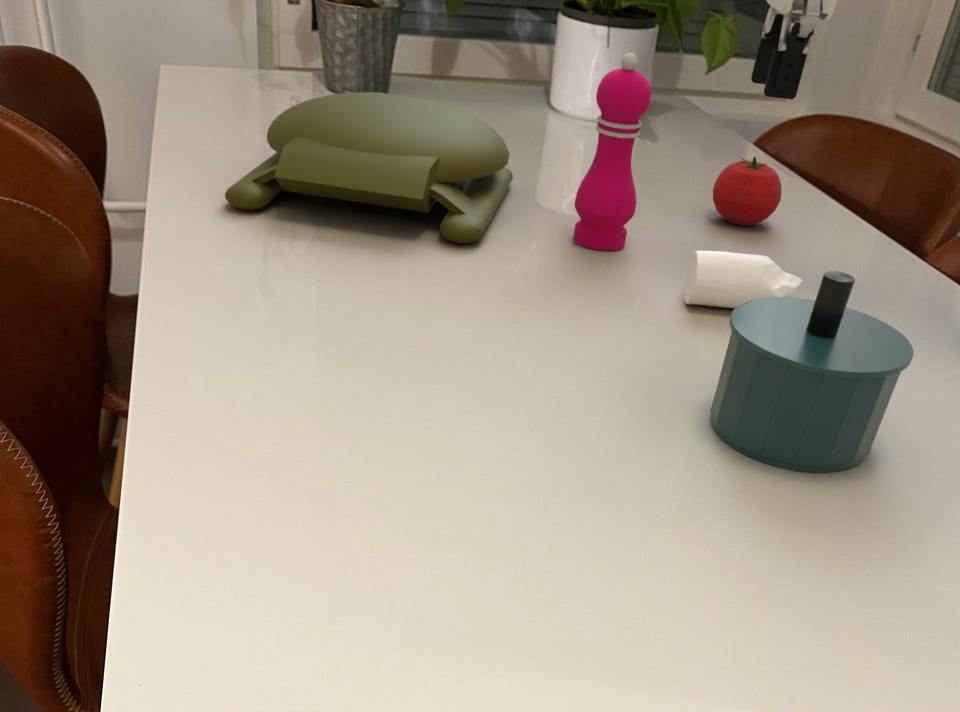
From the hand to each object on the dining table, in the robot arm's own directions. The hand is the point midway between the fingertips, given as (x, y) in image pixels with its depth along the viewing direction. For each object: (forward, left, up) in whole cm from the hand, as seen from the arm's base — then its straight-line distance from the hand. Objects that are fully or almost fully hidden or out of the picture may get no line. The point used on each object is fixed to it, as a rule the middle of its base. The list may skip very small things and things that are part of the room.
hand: (772, 88), depth 101 cm
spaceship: (+41, -20, -20) cm, 50 cm away
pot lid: (+1, +37, -11) cm, 39 cm away
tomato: (-6, -22, -20) cm, 30 cm away
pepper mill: (+14, -8, -20) cm, 25 cm away
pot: (+1, +37, -20) cm, 42 cm away
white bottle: (0, +9, -20) cm, 22 cm away
